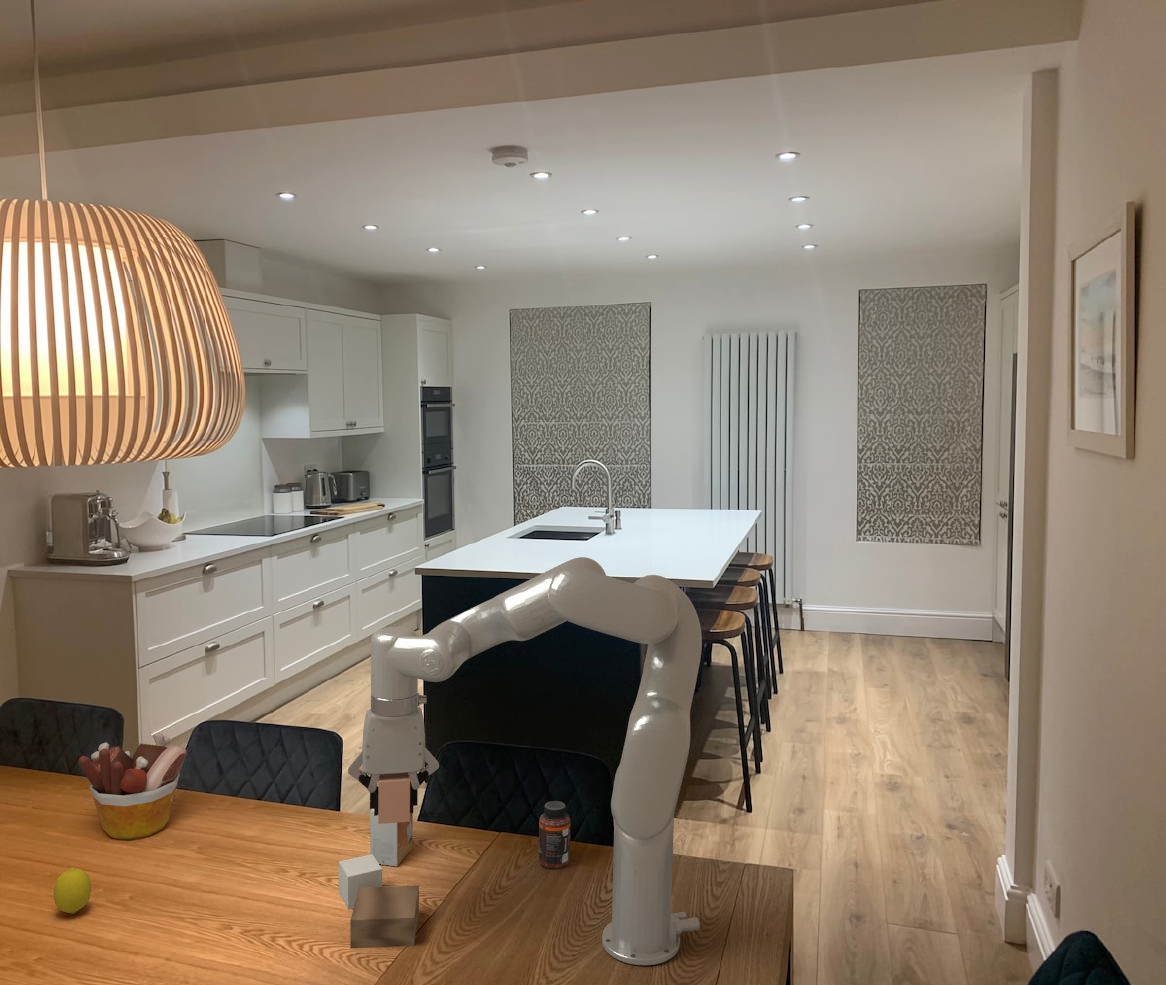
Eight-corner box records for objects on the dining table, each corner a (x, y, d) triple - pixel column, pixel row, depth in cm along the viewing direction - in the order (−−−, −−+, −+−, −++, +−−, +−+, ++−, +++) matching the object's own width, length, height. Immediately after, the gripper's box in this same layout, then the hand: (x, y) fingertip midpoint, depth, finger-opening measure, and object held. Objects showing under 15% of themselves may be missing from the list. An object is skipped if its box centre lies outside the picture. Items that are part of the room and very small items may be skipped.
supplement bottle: (574, 866, 172) (575, 809, 171) (544, 872, 170) (545, 813, 169) (563, 852, 178) (564, 796, 177) (534, 857, 175) (535, 800, 174)
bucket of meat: (133, 804, 195) (131, 714, 194) (201, 812, 192) (200, 721, 190) (62, 847, 176) (58, 747, 174) (136, 857, 172) (133, 756, 171)
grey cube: (372, 885, 164) (372, 853, 164) (382, 901, 159) (382, 868, 158) (339, 893, 161) (338, 861, 161) (347, 910, 156) (347, 876, 155)
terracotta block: (408, 808, 153) (408, 768, 153) (409, 821, 149) (410, 780, 148) (378, 810, 152) (378, 770, 152) (378, 823, 147) (378, 782, 147)
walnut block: (419, 913, 156) (419, 885, 155) (414, 947, 146) (414, 917, 145) (359, 915, 155) (359, 887, 154) (350, 950, 145) (350, 920, 144)
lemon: (57, 907, 155) (55, 862, 154) (94, 902, 157) (92, 857, 156) (51, 925, 150) (49, 878, 149) (89, 919, 152) (87, 873, 151)
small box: (397, 867, 170) (397, 813, 170) (369, 864, 172) (369, 810, 171) (413, 847, 178) (413, 796, 177) (386, 844, 179) (386, 793, 178)
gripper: (445, 694, 154) (444, 797, 156) (341, 698, 150) (341, 805, 152) (448, 708, 147) (447, 817, 149) (339, 713, 143) (339, 825, 145)
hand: (393, 809), depth 150 cm, fingers closed on terracotta block, 5 cm apart
